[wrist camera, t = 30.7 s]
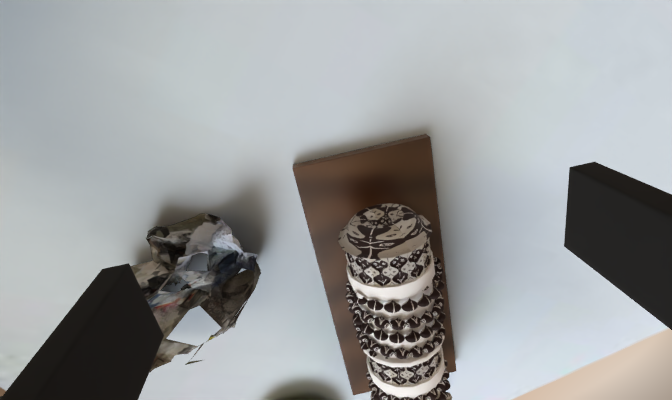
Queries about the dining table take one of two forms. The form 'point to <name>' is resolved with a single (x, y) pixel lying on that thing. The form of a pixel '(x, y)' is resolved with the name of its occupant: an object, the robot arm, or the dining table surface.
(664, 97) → the dining table surface
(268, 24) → the dining table surface
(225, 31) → the dining table surface
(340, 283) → the walnut board
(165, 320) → the foil
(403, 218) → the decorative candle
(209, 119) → the dining table surface
